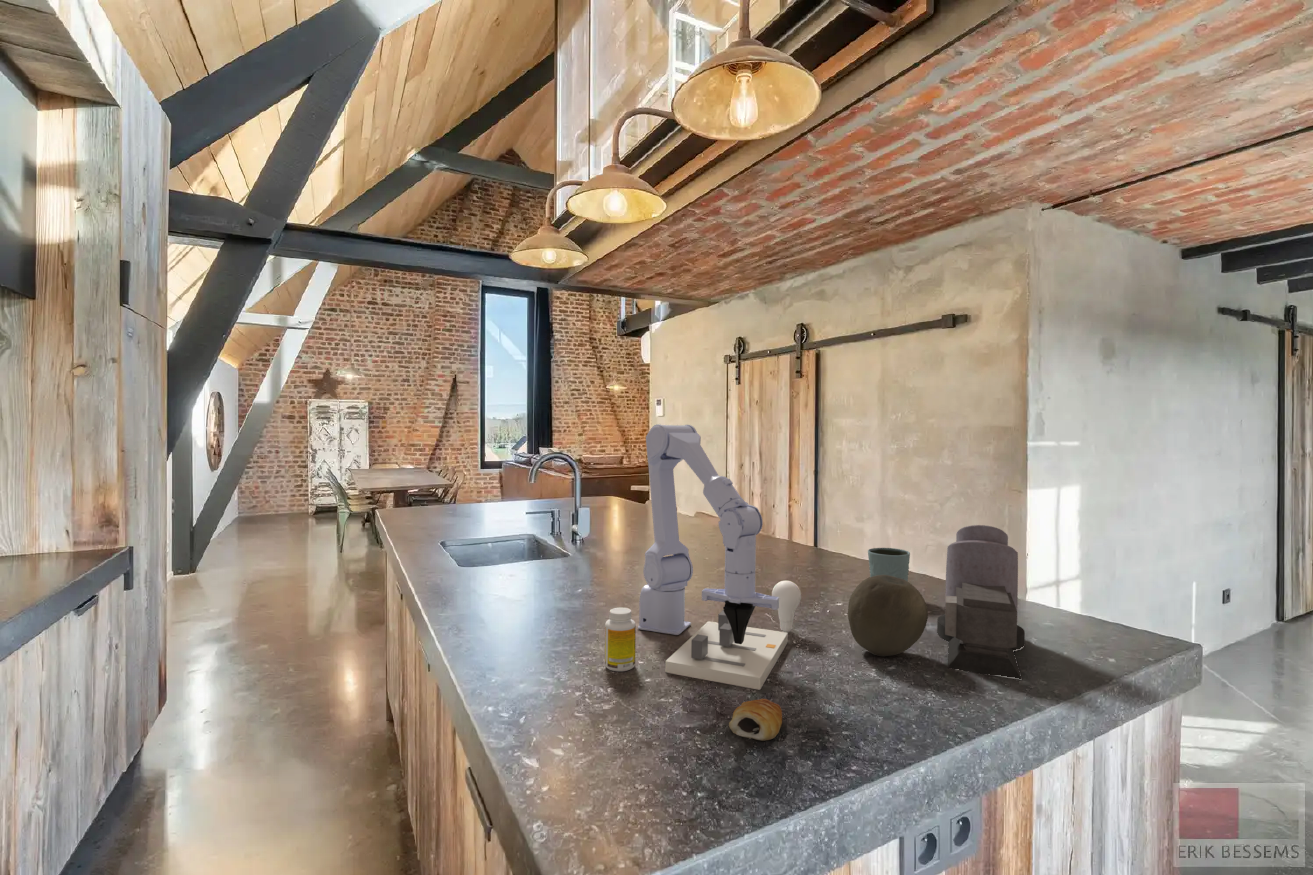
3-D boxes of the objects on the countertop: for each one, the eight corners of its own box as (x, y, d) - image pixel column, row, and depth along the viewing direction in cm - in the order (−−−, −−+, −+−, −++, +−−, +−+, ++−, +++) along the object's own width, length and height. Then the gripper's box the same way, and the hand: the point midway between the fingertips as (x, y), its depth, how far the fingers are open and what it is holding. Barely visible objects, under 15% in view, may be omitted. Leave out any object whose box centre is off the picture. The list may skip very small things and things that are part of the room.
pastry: (750, 707, 93) (750, 683, 93) (792, 719, 90) (793, 694, 89) (726, 734, 85) (726, 707, 85) (771, 748, 81) (772, 720, 81)
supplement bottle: (640, 669, 107) (640, 612, 107) (611, 674, 104) (611, 616, 104) (628, 658, 112) (628, 604, 112) (600, 663, 109) (600, 608, 109)
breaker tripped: (719, 645, 112) (719, 628, 112) (724, 639, 115) (724, 623, 115) (729, 646, 112) (729, 629, 112) (734, 641, 115) (734, 624, 115)
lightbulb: (801, 638, 123) (801, 585, 123) (771, 635, 125) (771, 583, 124) (800, 628, 129) (800, 578, 129) (771, 626, 131) (772, 576, 130)
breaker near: (691, 657, 106) (691, 639, 106) (697, 651, 109) (697, 634, 109) (702, 659, 105) (702, 641, 105) (707, 653, 108) (707, 635, 108)
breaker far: (718, 630, 121) (718, 614, 121) (722, 625, 124) (722, 609, 124) (727, 631, 120) (727, 615, 120) (732, 626, 123) (732, 611, 123)
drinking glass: (915, 603, 149) (916, 555, 149) (875, 602, 149) (875, 555, 149) (899, 591, 159) (900, 547, 159) (862, 591, 160) (862, 546, 159)
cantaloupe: (889, 673, 106) (890, 589, 106) (831, 647, 118) (833, 572, 118) (942, 660, 112) (943, 581, 112) (882, 636, 125) (883, 565, 125)
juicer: (938, 620, 136) (939, 513, 136) (1019, 631, 129) (1021, 519, 129) (934, 666, 110) (936, 534, 109) (1037, 684, 102) (1040, 542, 102)
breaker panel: (665, 672, 106) (665, 660, 106) (708, 630, 128) (708, 620, 128) (759, 689, 99) (760, 677, 99) (787, 642, 121) (787, 632, 121)
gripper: (696, 571, 112) (695, 643, 112) (773, 579, 106) (772, 655, 106) (708, 563, 118) (707, 631, 118) (781, 570, 112) (780, 642, 113)
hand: (739, 642), depth 113 cm, fingers closed
